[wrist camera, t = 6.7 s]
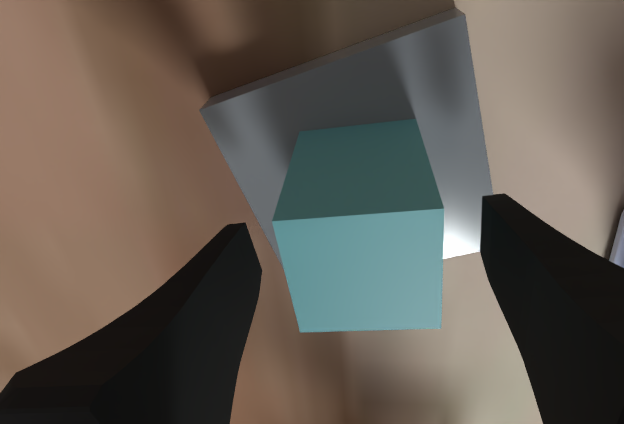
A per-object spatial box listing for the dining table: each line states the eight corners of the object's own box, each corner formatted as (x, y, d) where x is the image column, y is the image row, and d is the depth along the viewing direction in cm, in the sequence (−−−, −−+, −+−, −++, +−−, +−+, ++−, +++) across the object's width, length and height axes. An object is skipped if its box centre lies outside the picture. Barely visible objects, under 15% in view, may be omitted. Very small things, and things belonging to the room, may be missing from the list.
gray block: (451, 4, 13) (464, 14, 12) (488, 218, 18) (501, 246, 16) (215, 92, 16) (199, 110, 14) (299, 261, 20) (294, 290, 19)
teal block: (416, 118, 14) (444, 208, 9) (417, 216, 16) (441, 328, 11) (299, 131, 14) (271, 221, 10) (316, 223, 16) (300, 332, 12)
